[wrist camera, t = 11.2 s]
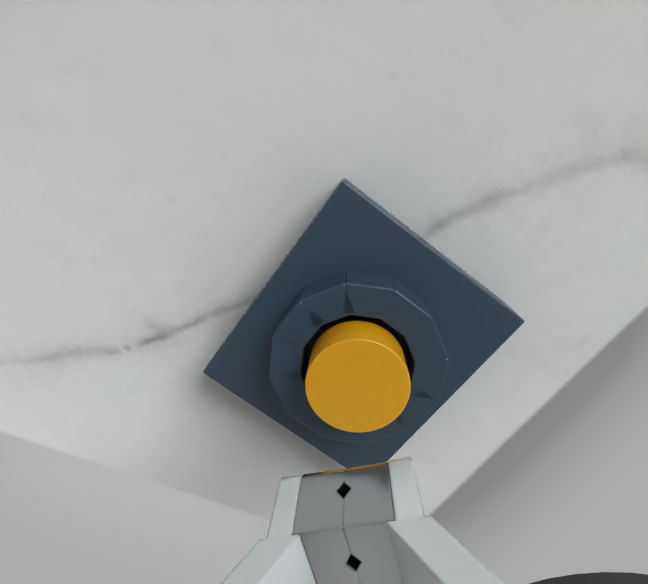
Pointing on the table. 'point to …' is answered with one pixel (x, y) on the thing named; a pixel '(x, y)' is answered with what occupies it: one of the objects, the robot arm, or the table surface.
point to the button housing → (364, 305)
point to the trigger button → (357, 377)
